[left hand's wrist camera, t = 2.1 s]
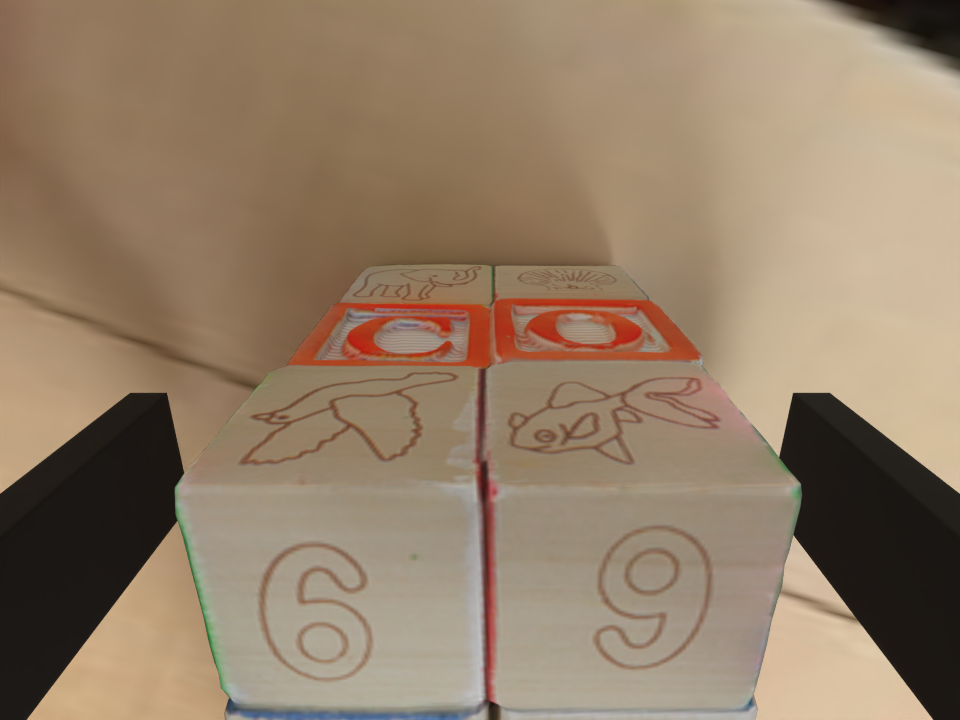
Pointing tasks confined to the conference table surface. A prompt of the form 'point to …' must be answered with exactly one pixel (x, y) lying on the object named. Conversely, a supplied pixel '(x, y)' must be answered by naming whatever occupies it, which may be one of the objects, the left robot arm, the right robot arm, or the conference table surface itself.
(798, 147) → the conference table surface
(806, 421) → the left robot arm
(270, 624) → the stack of blocks
